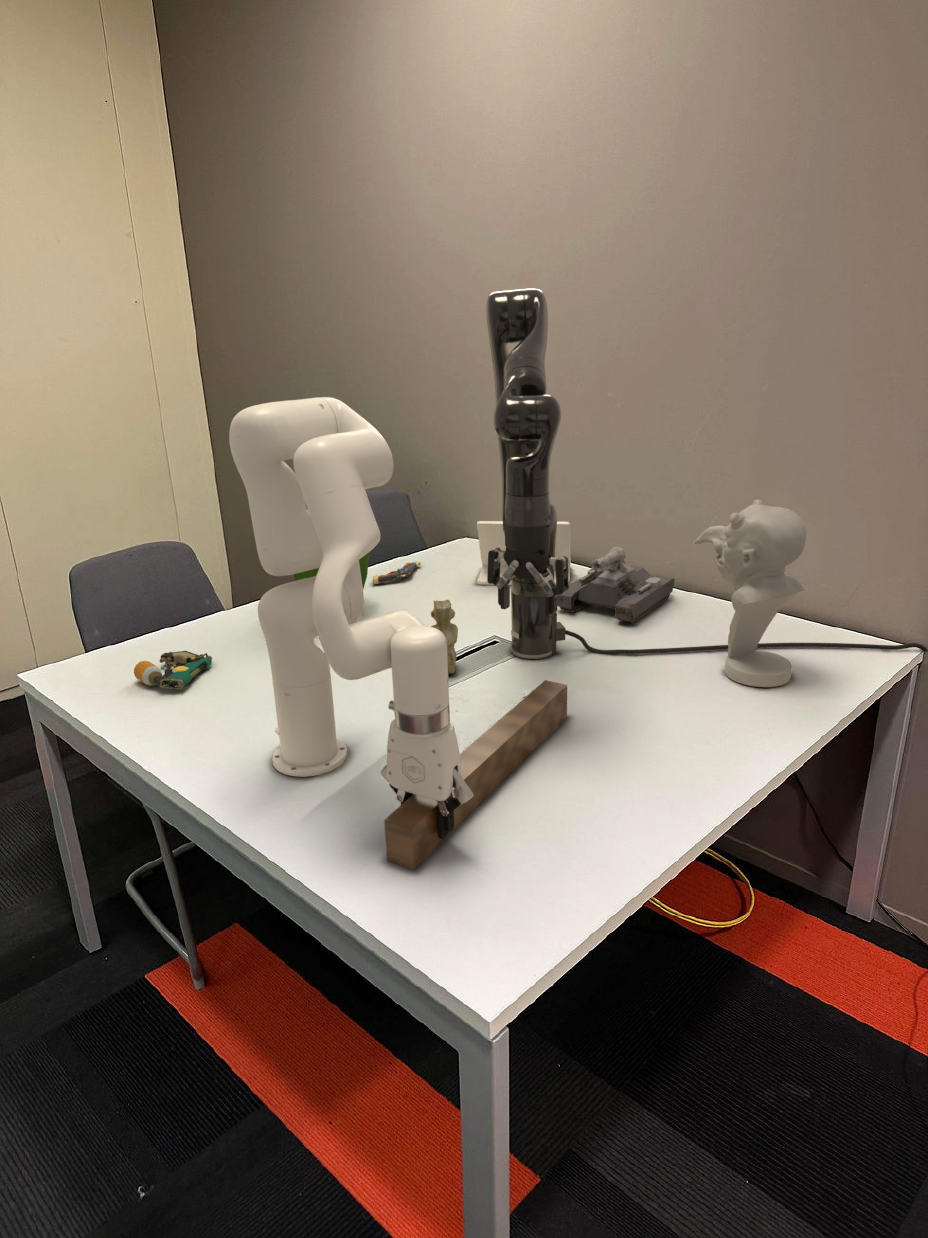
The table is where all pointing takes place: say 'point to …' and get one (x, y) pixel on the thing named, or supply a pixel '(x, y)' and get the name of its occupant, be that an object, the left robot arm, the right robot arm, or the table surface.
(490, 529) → the tablet stand
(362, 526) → the left robot arm
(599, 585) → the toy
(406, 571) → the toy gun
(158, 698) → the table surface
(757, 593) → the bust sculpture
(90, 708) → the table surface
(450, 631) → the sculpture
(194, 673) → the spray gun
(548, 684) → the bar
